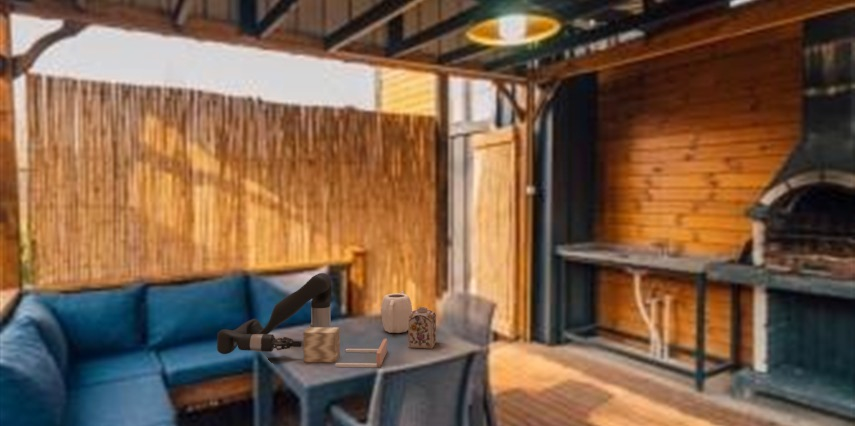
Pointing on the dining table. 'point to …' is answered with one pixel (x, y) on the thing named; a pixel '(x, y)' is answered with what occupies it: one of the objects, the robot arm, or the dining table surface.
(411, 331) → the decorative jar
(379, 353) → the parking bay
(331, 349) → the wooden block
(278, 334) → the dining table surface
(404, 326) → the beige pitcher
